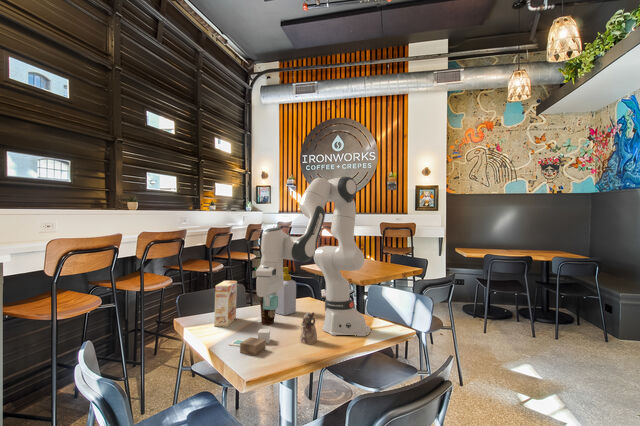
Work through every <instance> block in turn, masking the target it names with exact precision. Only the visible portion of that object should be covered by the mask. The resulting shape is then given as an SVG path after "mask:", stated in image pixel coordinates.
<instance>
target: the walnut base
mask: <svg viewBox="0 0 640 426" xmlns="http://www.w3.org/2000/svg"><path fill="white" fill-rule="evenodd" d="M244 340H245V341H243V342H241V343H240V346H239V353H240V354H245V355H248V356H249V355H250V356H254V357H256V356H258V355H260V354H261V353H263V352H264V351H265V350H266V347H267V346H266V344H267V343H266V340H264V339H258V337H256V338H255V337H252V336H251V337H248V338H247V339H244Z"/></svg>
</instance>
